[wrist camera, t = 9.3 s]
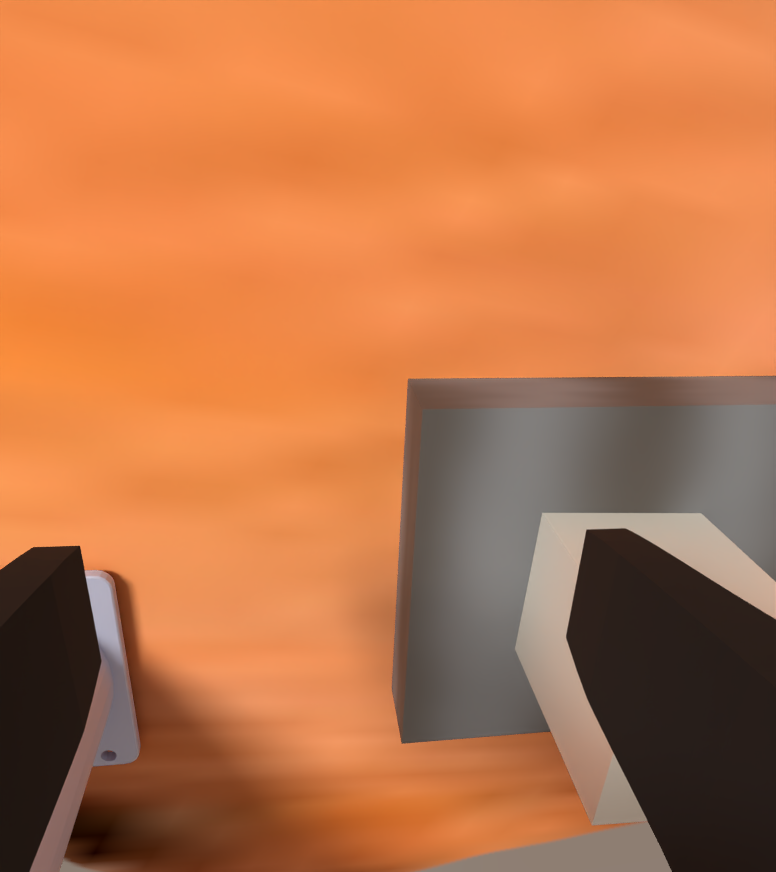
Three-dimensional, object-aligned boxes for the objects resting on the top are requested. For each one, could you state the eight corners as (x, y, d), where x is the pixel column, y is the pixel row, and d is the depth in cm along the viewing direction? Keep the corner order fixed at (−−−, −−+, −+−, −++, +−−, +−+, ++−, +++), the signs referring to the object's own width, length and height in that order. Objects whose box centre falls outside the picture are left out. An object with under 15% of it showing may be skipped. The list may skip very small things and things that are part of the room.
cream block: (514, 648, 21) (591, 825, 16) (542, 512, 19) (641, 661, 14) (660, 644, 22) (781, 811, 17) (701, 513, 20) (853, 653, 15)
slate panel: (389, 677, 25) (401, 743, 22) (404, 372, 20) (422, 409, 17) (688, 657, 27) (733, 716, 24) (768, 370, 22) (836, 403, 19)
